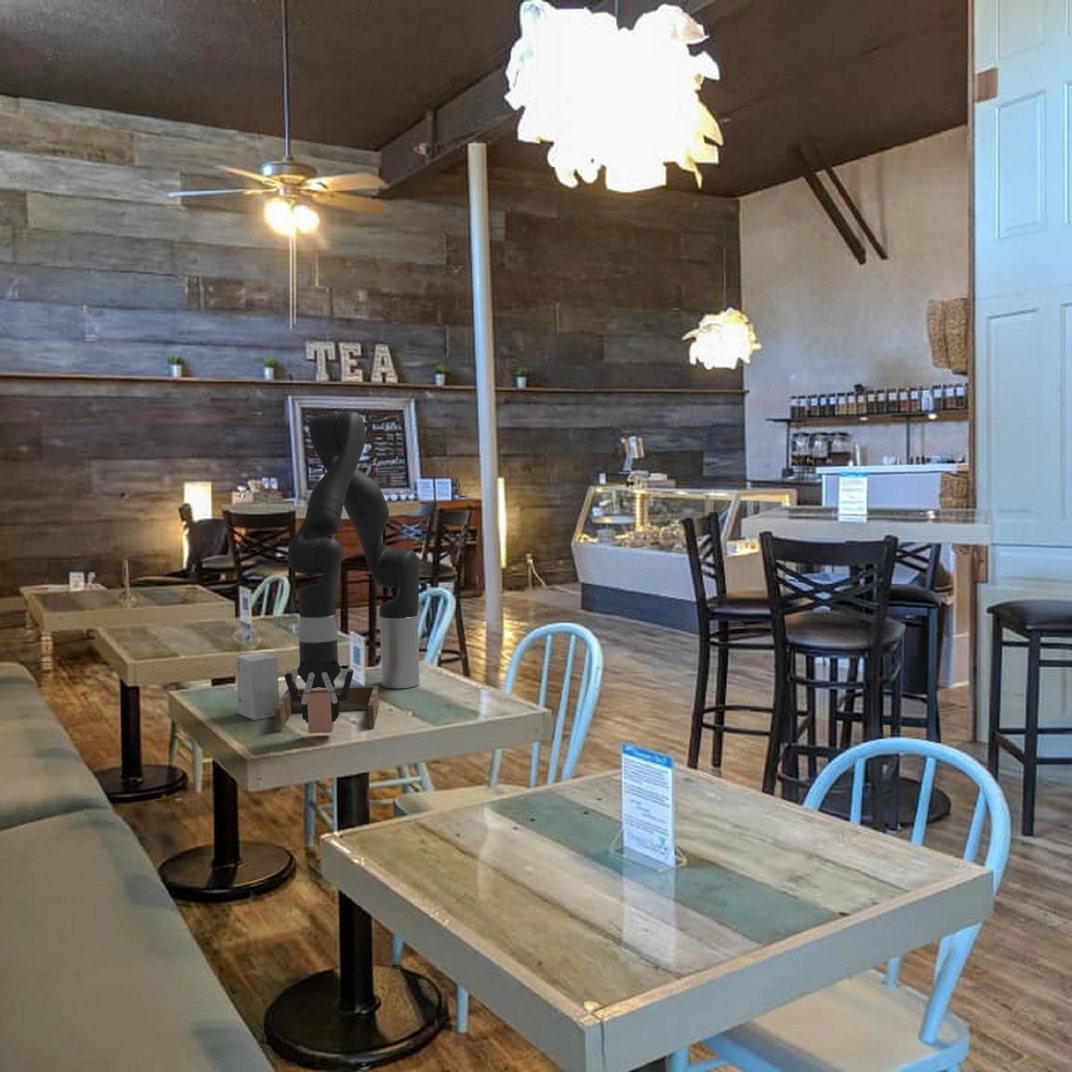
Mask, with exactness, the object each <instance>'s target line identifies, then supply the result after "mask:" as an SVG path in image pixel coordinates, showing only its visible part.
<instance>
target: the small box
mask: <svg viewBox="0 0 1072 1072" xmlns="http://www.w3.org/2000/svg"><path fill="white" fill-rule="evenodd" d="M235 659H236V660H235V661H236V685H237V689H236V690H237V709H238V710H237V712H238V713H237V714H239V715H241V716H243V717H246V718H248V719H251V720H252V721H257V720H261V719H266V718H272V717H275V708H276V706H277V704H278V703H279V701H280V695H279V694H280V691H279V690H280V689H279V665H278V664H279V663H278V661H279V660H278V657H277V656H274V655H271V654H267V653H264V652H257V653H255V652H254V653H248V654H247V653H246V654H241V655H236V657H235Z"/></svg>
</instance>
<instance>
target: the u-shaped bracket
mask: <svg viewBox="0 0 1072 1072" xmlns="http://www.w3.org/2000/svg"><path fill="white" fill-rule="evenodd" d="M335 687H336V691H337V693H338V694H340V693H342V690H343V686H339V687H338V686H335ZM297 689H298V692H299V694H300V695H303V693H304V689H305V688H297ZM312 689H316V688H312ZM352 709H364V710H368V729H374V728H375V725H376V722H375V721H377V716H378V712H379V709H380V700H379V685H369V686H368V685H363V686H350V688H349V692H348V696H347V698H346V699H345V700H342V701H340V702H339V711H353V710H352ZM292 713H302V704H301V703H299V702H293V701H292V698H291V695H290V692H289V689H288V688H287V689H286V691H285V692H284V694H283V695H282V696H281V698H280V699H279V703H278V704H277V706H276V708H275V716H274V717H275V718H274V719H275V732H276V733H281V732H282V731H283V729H284V727H285V725H286V724H287V722H288V720H289V718H290V716H291V715H292ZM290 714H291V715H290ZM286 721H287V722H286ZM282 728H283V729H282Z"/></svg>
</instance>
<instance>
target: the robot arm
mask: <svg viewBox="0 0 1072 1072" xmlns="http://www.w3.org/2000/svg"><path fill="white" fill-rule="evenodd" d="M308 433H309V438H310V441H311V444H312V447H313V449H314V452H315V453H316V455H317V457H318V458H319V461H320V462H321V464H322V465H323V466H324V468H325V470H326V473H325V474H324V475H323V476H322V477H321V479H319V481H318V482H317V483H316V484H315V486H314V488H313V489H312V492H311V493H310V496H309V499H308V503H307V508H306V512H305V517H304V520H303V522H302V523H301V525H300V527H299V528H298V530H297V532H296V534H294V537H293V538H292V540H291V543H290V545H289V547H288V550H287V563H288V565H289V568H290V569H291V570H292V571H293V572H295V573H297V574H322V576H321V580H320V581H319V582H318V583H314V584H309V585H305V586H303V587H301V588H300V589H299V591H298V609H299V618H298V619H299V621H298V634H297V637H298V645H299V646H298V647H299V648H298V651H299V652H298V653H299V666H298V668H297V669H295V670H292V671H290V670H289V671H286V673H285V675H284V680H285V682H286V685H287V689H289V692H290V695H291V698H292V701H293V702H299V703H301V704H302V712H301V713H302V715H301V718H302V719H303V720H302V721H305V723H308V702H307V693H310V692H311V690H312V688H327V691H328V692H331V701H332V703H331V714H332V722H334V723H335V722H336V719H339V716H340V710H339V702H340V701H342V700H345V699H346V698H347V696H348V692H349V688H350V687H351V684H352V681H353V676H354V674H355V673H354V670H353V668H350V669H349V668H348V669H345V668H342V667H341V665H340V663H339V655H338V654H339V652H338V649H339V647H338V624H337V619H336V599H335V597H336V596H335V595H336V594H335V593H336V588H337V587H336V586H337V583H338V582H337V581H338V577H339V573H340V570H341V565H342V561H343V555H344V552H343V548H342V545H341V544H340V543H339V541H338V540H337V539H335V538H331V536H334V535H336V534H337V532H338V531H339V529H340V524H341V521H342V514H343V509H344V510H345V512H346V514H347V516H348V518H349V521H350V523H351V524H352V527H353V528H354V531H355V533H356V534H357V537H358V539H359V542H360V544H361V547H362V550H363V553H364V556H365V560H366V563H367V566H368V568H369V572H370V574H371V577H372V579H373V581H374V583H375V584H376V585H377V586H378V587H382V588H394V589H395V588H396V589H399V590H398V595H397V597H395V598H394V599H391V600H388V601H385V602H383V603H382V604H380V606H379V630H380V632H379V633H380V634H379V635H380V666H381V668H380V669H381V670H380V671H381V673H380V674H381V686H382V687H384V688H387V689H408V688H413V687H416V686H419V685H420V647H419V646H420V644H419V642H420V641H419V639H420V638H419V612H418V611H419V610H418V609H419V603H420V560H419V557H418V554H417V553H416V552H415V551H413V550H410V549H408V550H407V549H387V548H386V547H385V545H384V543H383V539H382V536H383V534H384V531H385V529H386V526H387V523H388V521H389V515H390V510H389V506H388V503H387V501H386V498H385V496H384V493H383V492H382V490H381V487H380V486H379V485H378V483H377V482H375V481H374V480H373V479H372V478H371V477H370V476H368V475H367V474H365V473H364V472H363V471H361V470H359V468H357V467H358V465H359V462H360V459H361V457H362V454H363V451H364V448H365V444H366V437H367V435H366V434H367V433H366V426H365V422H364V419H363V418H362V416H361V415H360V414H359V413H358V412H356V411H341V412H334V413H332V412H331V413H324V414H319V415H315V416H314V417H312V419H311V421H310V423H309V427H308ZM339 674H340V675H341V679H342V680H343V681H344V682H343V686H342V687H343V690H342V693H340V694H338V693H337V691H336V687H337V686H336V685H335V680H336V679H337V677H338V676H339ZM298 676H299V677H300V678H301V680H302V681H303V682H304V683H305V687H304V688H303V689H304V693H303V695H300V694H299V692H298V689H299V688H298V687H297V684H296V682H297V680H298Z"/></svg>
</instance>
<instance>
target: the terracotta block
mask: <svg viewBox="0 0 1072 1072" xmlns="http://www.w3.org/2000/svg"><path fill="white" fill-rule="evenodd" d="M307 702H308V724H307V726H308V729H307V732H308V734H322V733H323V734H325V733H326V734H328V733H332V732H333V729H334V726H335V725H334V724H335V722H332V714H331V703H332V701H331V692H328V691H327V688H320V687H318V688H316V689H312V690H311V692H310V693H307Z"/></svg>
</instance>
